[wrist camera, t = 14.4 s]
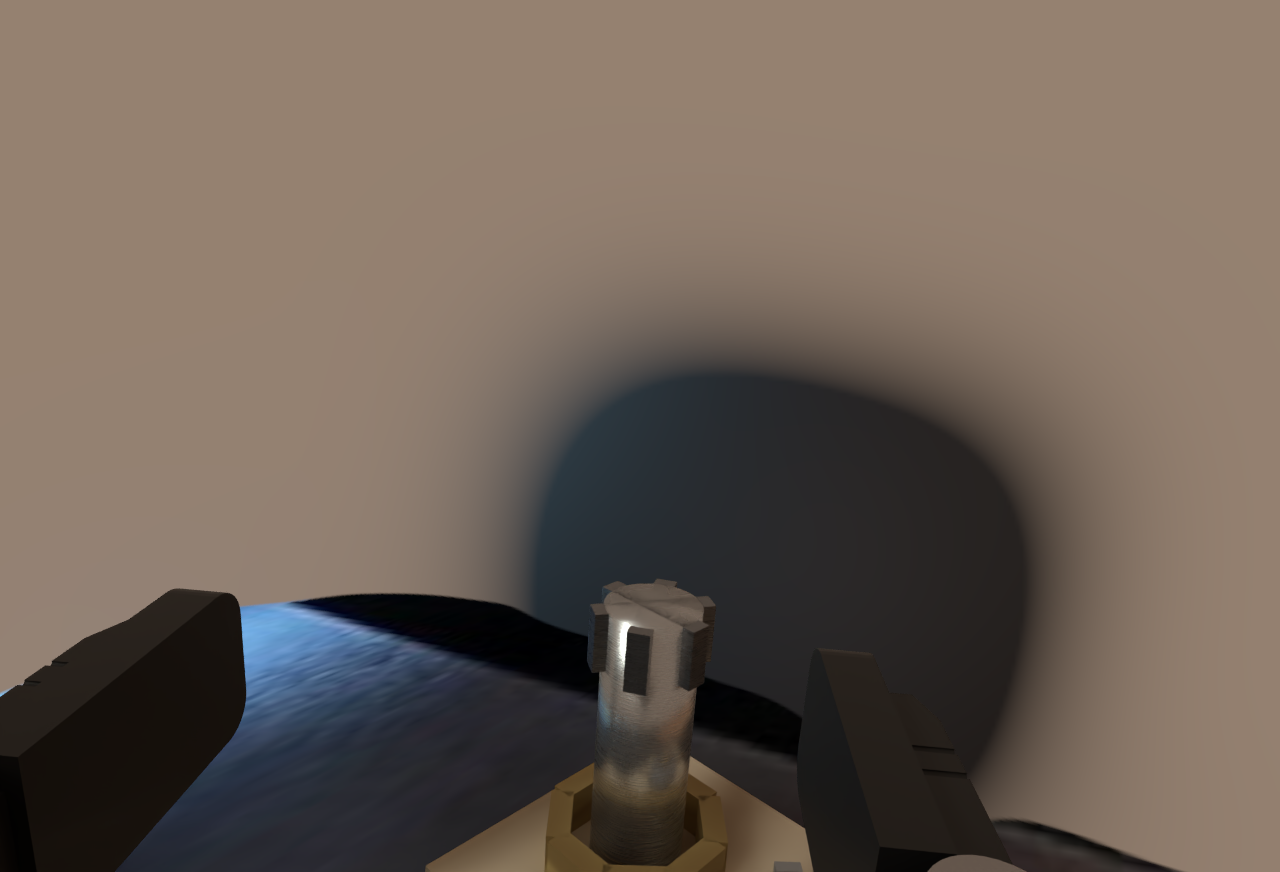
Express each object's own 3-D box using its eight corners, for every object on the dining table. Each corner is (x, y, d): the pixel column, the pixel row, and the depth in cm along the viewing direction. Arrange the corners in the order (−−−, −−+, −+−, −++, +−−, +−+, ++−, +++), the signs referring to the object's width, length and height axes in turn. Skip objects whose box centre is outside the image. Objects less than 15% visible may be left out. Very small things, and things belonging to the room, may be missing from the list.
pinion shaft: (555, 850, 35) (567, 599, 32) (632, 800, 38) (649, 569, 35) (637, 922, 31) (659, 649, 28) (713, 860, 35) (739, 610, 32)
